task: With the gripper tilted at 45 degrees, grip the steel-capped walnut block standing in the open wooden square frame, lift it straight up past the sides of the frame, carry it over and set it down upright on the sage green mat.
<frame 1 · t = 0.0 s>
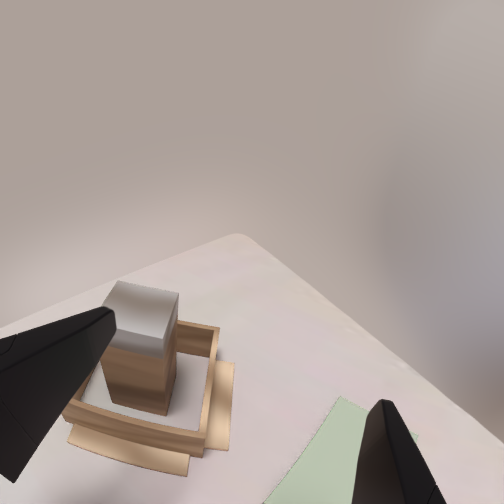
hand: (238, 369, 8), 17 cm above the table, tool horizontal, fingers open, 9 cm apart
wooden square frame: (145, 388, 24), on the table
green mat: (353, 471, 19), on the table
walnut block: (140, 354, 22), in the wooden square frame
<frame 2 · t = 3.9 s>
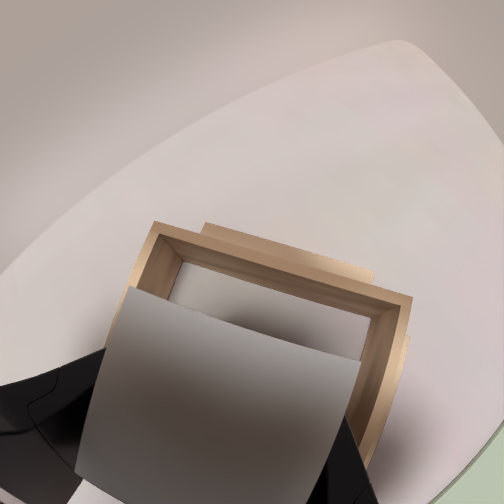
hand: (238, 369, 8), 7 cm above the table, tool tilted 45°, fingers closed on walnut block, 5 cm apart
wooden square frame: (242, 387, 14), on the table
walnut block: (230, 402, 10), in the wooden square frame, touching gripper
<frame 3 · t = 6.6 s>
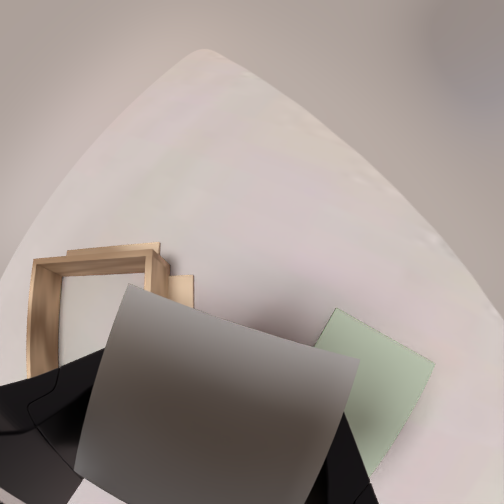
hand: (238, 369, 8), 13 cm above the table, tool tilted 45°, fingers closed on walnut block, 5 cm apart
wooden square frame: (104, 337, 22), on the table
green mat: (343, 417, 19), on the table
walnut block: (229, 401, 10), point 12 cm above the table, touching gripper
when the fingers open (8 cm above the table, at t = 9.4 s): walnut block stays where it is, resting on green mat.
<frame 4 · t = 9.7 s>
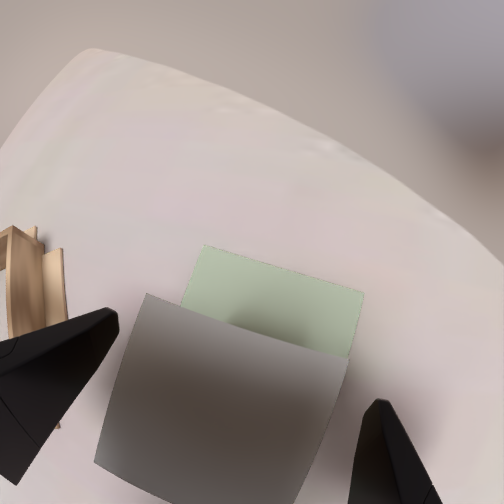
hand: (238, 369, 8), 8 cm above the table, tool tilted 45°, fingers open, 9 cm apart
wooden square frame: (2, 331, 17), on the table
green mat: (245, 384, 16), on the table
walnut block: (233, 398, 10), on the green mat
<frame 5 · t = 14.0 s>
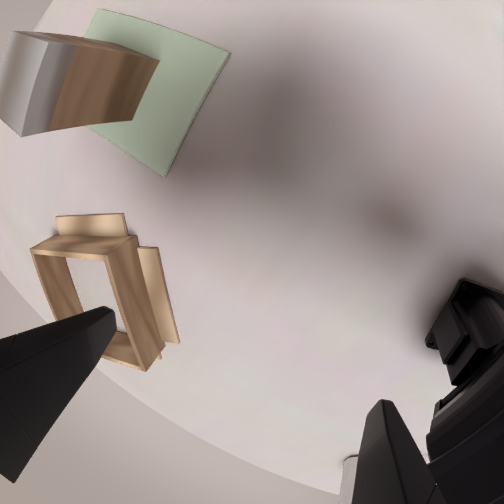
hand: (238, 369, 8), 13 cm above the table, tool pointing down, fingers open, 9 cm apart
wooden square frame: (105, 289, 28), on the table
green mat: (126, 80, 18), on the table
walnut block: (75, 77, 14), on the green mat
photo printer: (381, 459, 29), on the table
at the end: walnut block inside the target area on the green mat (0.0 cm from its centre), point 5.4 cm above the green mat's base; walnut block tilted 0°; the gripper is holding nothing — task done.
